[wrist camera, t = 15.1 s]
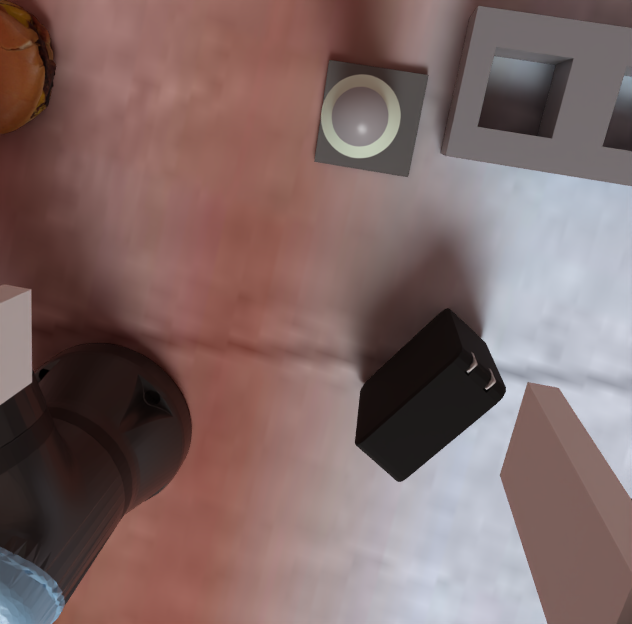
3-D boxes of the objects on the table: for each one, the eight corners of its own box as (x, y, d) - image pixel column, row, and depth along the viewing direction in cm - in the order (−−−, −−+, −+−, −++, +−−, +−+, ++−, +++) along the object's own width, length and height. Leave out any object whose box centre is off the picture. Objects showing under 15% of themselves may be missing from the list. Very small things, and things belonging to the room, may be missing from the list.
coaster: (315, 161, 43) (314, 161, 43) (330, 60, 41) (329, 59, 40) (407, 176, 43) (408, 177, 42) (427, 75, 40) (428, 75, 40)
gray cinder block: (440, 153, 42) (445, 155, 38) (469, 17, 39) (478, 5, 35) (664, 189, 41) (692, 196, 37) (711, 52, 38) (747, 44, 34)
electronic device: (360, 385, 48) (353, 448, 39) (447, 304, 45) (463, 351, 36) (395, 417, 49) (397, 487, 39) (484, 339, 46) (509, 394, 36)
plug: (337, 143, 42) (314, 152, 29) (346, 85, 41) (325, 67, 28) (391, 152, 42) (392, 164, 29) (402, 93, 40) (407, 79, 28)
